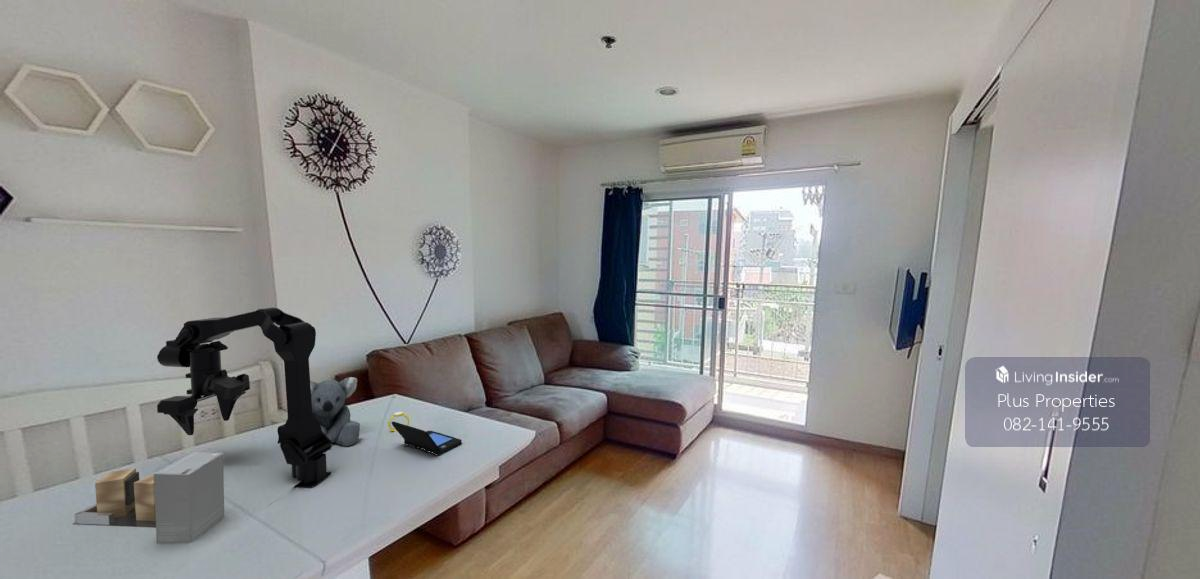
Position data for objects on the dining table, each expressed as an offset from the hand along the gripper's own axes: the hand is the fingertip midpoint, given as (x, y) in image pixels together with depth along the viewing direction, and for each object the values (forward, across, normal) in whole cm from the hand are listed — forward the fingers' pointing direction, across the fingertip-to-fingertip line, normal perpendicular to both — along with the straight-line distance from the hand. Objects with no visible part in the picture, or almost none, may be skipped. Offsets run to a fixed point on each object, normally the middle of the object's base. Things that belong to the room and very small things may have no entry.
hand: (209, 427), depth 105 cm
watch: (+12, +29, -34) cm, 46 cm away
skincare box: (+12, -24, -20) cm, 34 cm away
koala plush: (+12, +21, -16) cm, 29 cm away
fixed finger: (+10, -19, -8) cm, 23 cm away
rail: (+12, -19, -4) cm, 23 cm away
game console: (+13, +18, -48) cm, 53 cm away
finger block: (+10, -19, +1) cm, 22 cm away
